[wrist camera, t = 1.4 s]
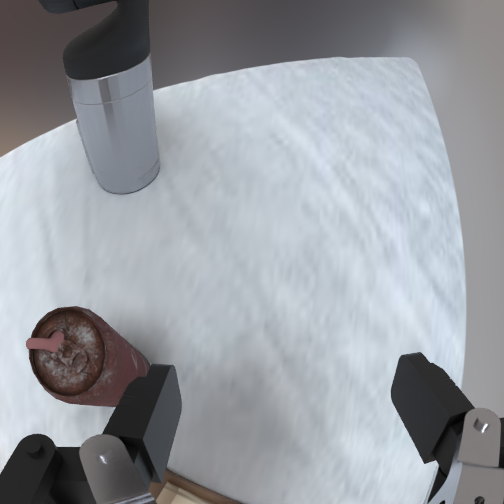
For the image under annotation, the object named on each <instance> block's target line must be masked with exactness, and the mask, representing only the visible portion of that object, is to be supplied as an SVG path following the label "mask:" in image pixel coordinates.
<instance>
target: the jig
mask: <svg viewBox="0 0 504 504" xmlns="http://www.w3.org/2000/svg"><path fill="white" fill-rule="evenodd" d="M149 492H150V493H151V495H152V496H153V498H154V499H155V501H156V502H157V504H242V503H239V502H237V501H234V500H231V499H229V498H226V497H224V496H222V495H219V494H217V493H215V492H212V491H210V490H208V489H206V488H203V487H201V486H199V485H197V484H195V483H193V482H191V481H189V480H187V479H185V478H183V477H181V476H179V475H177V474H175V473H173V472H171V471H169V470H167V469H166V470H165V474H164V478H163V481H162V484H160V483H154V482H151V484H150V487H149Z"/></svg>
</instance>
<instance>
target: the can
mask: <svg viewBox="0 0 504 504" xmlns="http://www.w3.org/2000/svg"><path fill="white" fill-rule="evenodd" d="M26 347H27V349H29V360H30V363H31V367H32V370H33V373H34V374H35V376H36V377H37V379H38V381H39V382H40V384H41V385H42V386H43V388H44V389H45V390H46V391H47V392H48V393H50V394H51V395H52V396H53V397H54V398H56V399H58V400H61V401H63V402H66V403H69V404H80V405H92V406H108V407H116V406H117V404H118V405H119V401H120V399H121V397H122V396H123V393H124V391H125V389H126V388H127V386H128V384H129V383H131V382H132V381H133V380H134V379H136V378H137V377H138V376H141V377H146V375H147V373H148V371H149V369H150V365H149V362H148V361H147V359H146V358H145V357H144V356H143V355H142V354H141V353H140V352H139V351H137V350H136V349H135V348H134V347H133V346H132V345H131V344H129V343H128V342H127V341H126V340H125V339H124V338H123V337H121V336H120V335H119V334H118V333H117V332H116V331H115V330H114V329H113V328H112V327H110V326H109V325H108V324H107V323H106V322H105V321H104V320H103V319H102V318H101V317H100V316H98V315H97V314H95V313H94V312H92V311H91V310H89V309H85V308H81V307H77V306H73V307H63V308H57V309H55V310H53V311H51V312H48V313H47V314H46V315H45V316H44V317H43V318H42V319H41V320H40V321H39V322H38V323H37V325H36V327H35V329H34V330H33V332H32V335H31V338H29V339H28V340H27V341H26Z"/></svg>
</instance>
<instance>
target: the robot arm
mask: <svg viewBox="0 0 504 504" xmlns="http://www.w3.org/2000/svg"><path fill="white" fill-rule="evenodd" d="M111 1H117V3H118V6H117V7H116V9H115V10H114V11H113V12H112V13H111V14H110V15H109V16H107V18H105V19H104V20H102V21H101V22H100V23H98V24H97V25H95V26H94V27H92V28H90V29H89V30H87V31H85V32H83V33H82V34H80V35H79V36H77V37H76V38H74V39H73V40H72V41H71V42H70V43H69V44H68V45H67V46H66V48H65V50H64V52H63V62H64V67H65V72H66V75H67V80H68V83H69V88H70V92H71V96H72V99H73V103H74V107H75V111H76V114H77V118H78V119H77V121H76V124H77V127H78V131H79V134H80V137H81V140H82V143H83V146H84V149H85V152H86V155H87V158H88V161H89V164H90V167H91V170H92V172H93V173H94V174H95V175H96V178H97V181H98V183H99V185H100V186H101V187H102V188H103V189H105V190H106V191H108V192H111V193H117V194H124V193H130V192H134V191H137V190H139V189H141V188H143V187H145V186H146V185H148V184H149V183H150V182H151V181H152V180H153V179H154V178H155V177H156V175H157V173H158V171H159V168H160V161H159V152H158V141H157V132H156V122H155V111H154V99H153V88H152V87H153V86H152V72H151V52H150V38H149V0H39V2H40V3H41V5H42V6H43V8H44V9H45V10H46V11H48V12H49V13H53V14H60V13H65V12H70V11H74V10H78V9H81V8H86V7H89V6H93V5H97V4H102V3H106V2H111ZM391 399H392V402H393V404H394V406H395V408H396V410H397V412H398V414H399V416H400V417H401V419H402V421H403V423H404V425H405V427H406V429H407V431H408V433H409V435H410V436H411V438H412V440H413V442H414V444H415V446H416V448H417V450H418V452H419V454H420V456H421V458H422V460H423V462H424V464H426V463H429V462H432V461H435V460H436V461H437V462H438V465H437V467H436V468H435V471H434V474H433V477H432V481H431V484H430V486H429V489H428V492H427V495H426V498H425V500H424V503H423V504H504V418H499V417H498V416H497V415H496V414H495V413H494V412H492V411H491V410H489V409H485V408H474V406H473V405H472V404H471V403H470V401H469V400H468V399H467V398H466V396H465V395H464V394H463V393H462V391H461V390H460V389H459V388H458V387H457V386H455V383H454V382H453V380H452V379H450V377H449V376H448V374H447V373H446V372H445V371H444V370H443V369H442V368H440V367H439V366H437V365H435V364H434V363H430V362H429V361H428V360H427V359H426V357H425V356H424V355H423V354H422V353H421V352H418V353H412V354H405V355H401V357H400V358H399V361H398V365H397V369H396V373H395V376H394V380H393V384H392V387H391ZM181 407H182V402H181V395H180V390H179V385H178V380H177V374H176V369H175V367H174V365H164V364H152V365H151V367H150V369H149V371H148V373H147V375H146V377H141V376H138V377H137V378H136V379H134V380H133V381H132V382H131V383H129V384H128V386H127V388H126V389H125V391H124V393H123V396H122V397H121V399H120V401H119V405H118V404H117V406H116V408H115V410H114V412H113V414H112V416H111V418H110V420H109V422H108V424H107V426H106V427H105V429H104V431H103V433H102V435H96V436H93V437H91V438H89V439H87V440H86V441H85V442H84V443H83V444H82V446H81V447H56V446H55V444H54V442H53V441H52V440H51V439H50V438H49V437H48V436H46V435H43V434H32V435H29V436H27V437H25V438H24V439H22V440H21V441H20V442H19V444H18V445H17V447H16V449H15V450H14V452H13V454H12V455H11V457H10V459H9V460H8V462H7V464H6V465H5V467H4V469H3V470H2V472H1V474H0V504H157V502H156V501H155V499H154V498H153V496H152V495H151V493H150V492H149V487H150V484H151V482H154V483H160V484H162V481H163V478H164V474H165V470H166V466H167V462H168V459H169V455H170V451H171V447H172V444H173V440H174V436H175V433H176V429H177V425H178V422H179V418H180V414H181Z"/></svg>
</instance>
